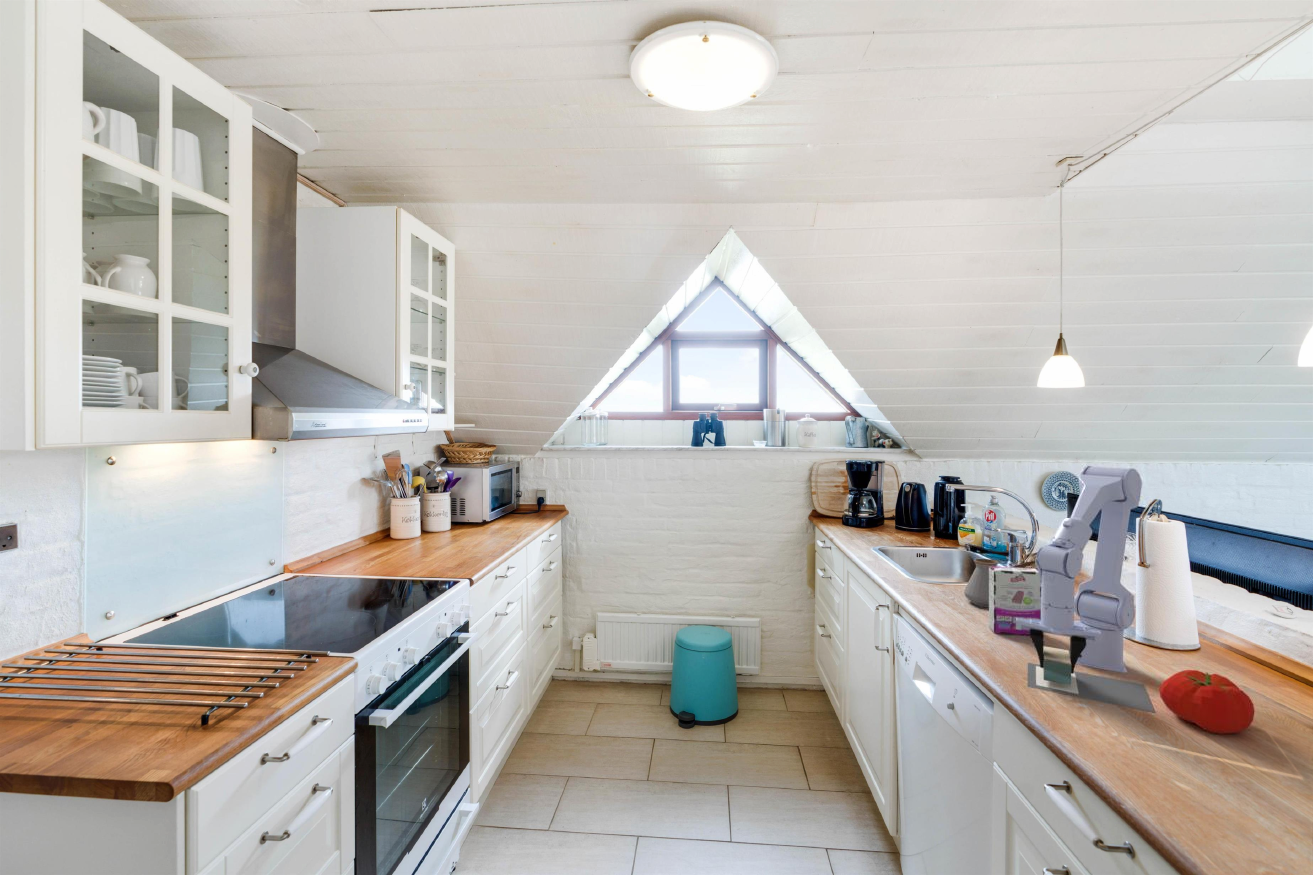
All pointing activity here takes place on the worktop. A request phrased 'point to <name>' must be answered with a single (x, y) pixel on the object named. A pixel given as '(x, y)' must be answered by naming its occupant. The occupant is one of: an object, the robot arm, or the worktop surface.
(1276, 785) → the worktop surface
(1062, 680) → the green and cream block
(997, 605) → the candy bar box
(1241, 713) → the tomato
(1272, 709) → the worktop surface
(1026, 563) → the coffee pot
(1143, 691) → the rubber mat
